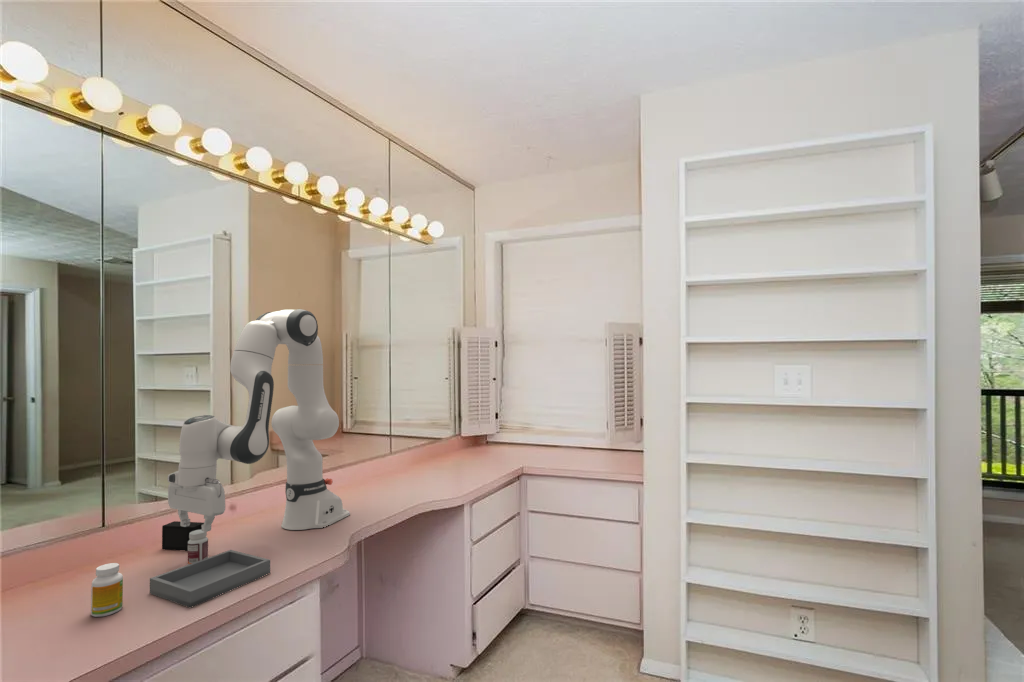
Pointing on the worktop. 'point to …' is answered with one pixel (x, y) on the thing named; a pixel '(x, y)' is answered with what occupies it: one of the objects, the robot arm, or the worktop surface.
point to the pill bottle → (197, 546)
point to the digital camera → (178, 535)
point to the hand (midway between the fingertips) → (195, 528)
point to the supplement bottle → (107, 590)
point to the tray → (208, 577)
